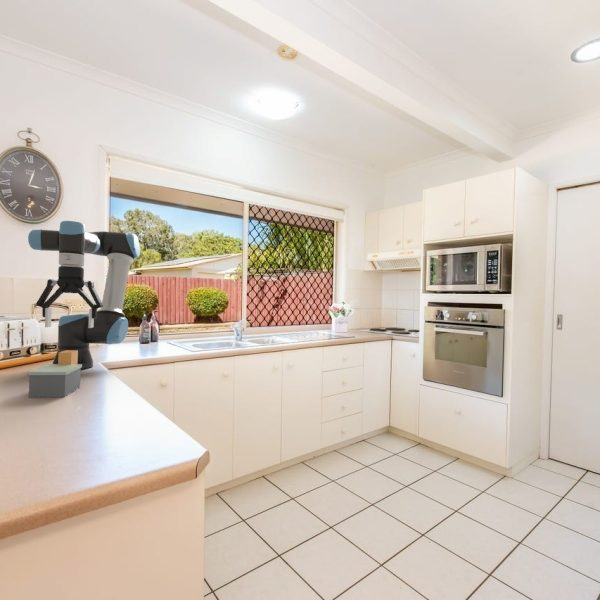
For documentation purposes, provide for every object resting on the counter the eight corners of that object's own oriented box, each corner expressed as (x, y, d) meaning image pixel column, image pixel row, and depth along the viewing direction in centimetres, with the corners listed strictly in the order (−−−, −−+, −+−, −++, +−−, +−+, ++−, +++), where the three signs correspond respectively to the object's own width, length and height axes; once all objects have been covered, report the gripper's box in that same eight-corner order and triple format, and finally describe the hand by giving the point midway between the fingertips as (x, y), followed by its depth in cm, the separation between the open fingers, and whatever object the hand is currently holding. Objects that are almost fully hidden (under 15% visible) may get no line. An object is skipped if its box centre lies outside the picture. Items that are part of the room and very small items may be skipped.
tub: (47, 387, 124) (48, 367, 124) (79, 387, 126) (80, 367, 126) (28, 397, 113) (29, 374, 113) (64, 397, 115) (65, 374, 115)
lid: (54, 367, 130) (55, 350, 130) (87, 367, 132) (88, 350, 132) (27, 378, 112) (28, 358, 112) (66, 378, 114) (66, 358, 114)
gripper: (25, 263, 122) (23, 327, 122) (106, 267, 127) (105, 329, 127) (36, 265, 129) (35, 325, 129) (113, 268, 134) (111, 326, 134)
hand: (69, 327), depth 128 cm, fingers open, 13 cm apart
